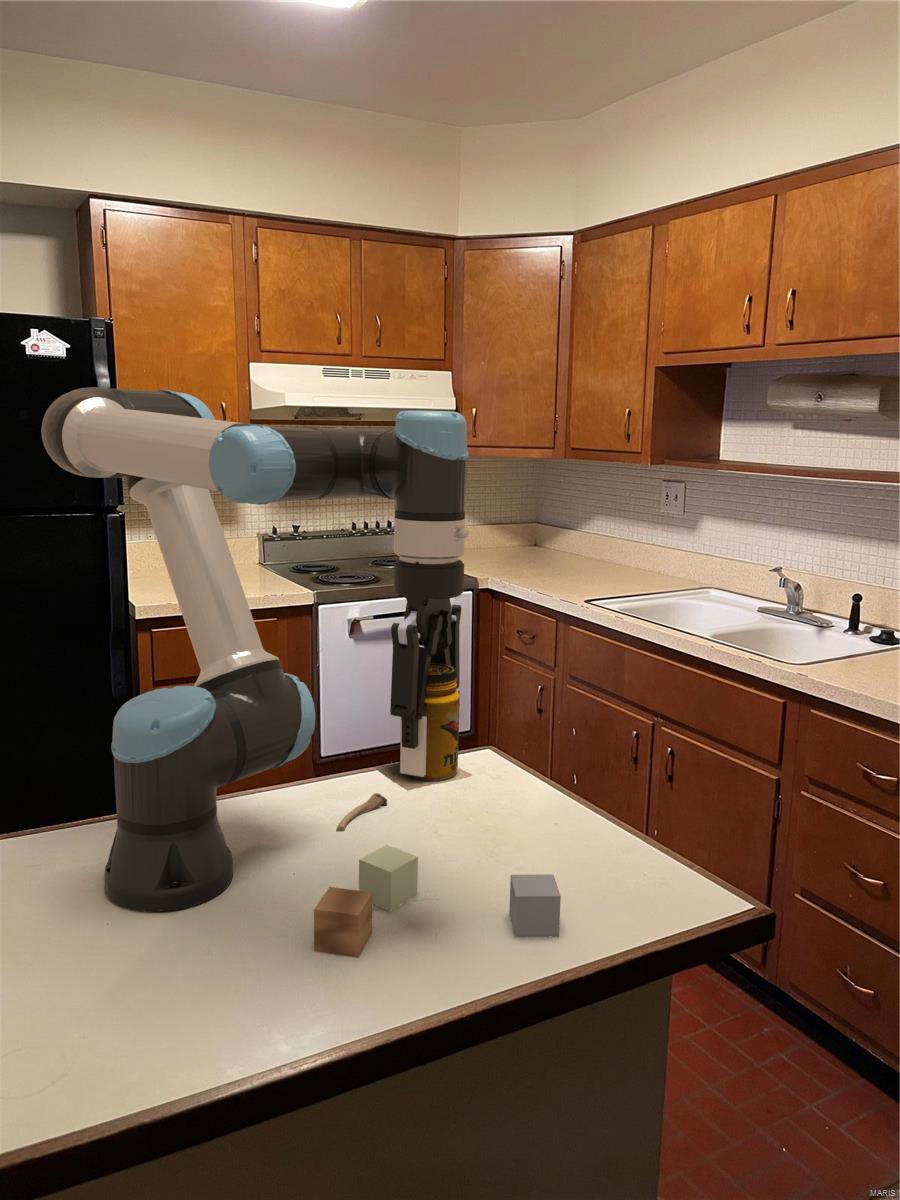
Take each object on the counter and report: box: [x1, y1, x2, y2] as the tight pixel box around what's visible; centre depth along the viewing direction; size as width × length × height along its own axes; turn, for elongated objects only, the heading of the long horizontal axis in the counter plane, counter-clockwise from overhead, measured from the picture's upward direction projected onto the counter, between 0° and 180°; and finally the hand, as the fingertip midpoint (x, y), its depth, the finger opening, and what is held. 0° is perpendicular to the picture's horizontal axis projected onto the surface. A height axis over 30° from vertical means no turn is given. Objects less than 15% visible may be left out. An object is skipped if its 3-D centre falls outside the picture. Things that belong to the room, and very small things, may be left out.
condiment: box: [373, 663, 473, 792], centre depth 99 cm, size 7×8×12 cm
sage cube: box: [358, 844, 419, 912], centre depth 109 cm, size 5×5×5 cm
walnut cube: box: [313, 886, 373, 959], centre depth 99 cm, size 5×5×5 cm
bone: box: [335, 792, 388, 832], centre depth 131 cm, size 3×11×2 cm, turn 149°
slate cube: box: [508, 874, 562, 938], centre depth 103 cm, size 5×5×5 cm
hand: (425, 763), depth 101 cm, fingers closed on condiment, 6 cm apart
